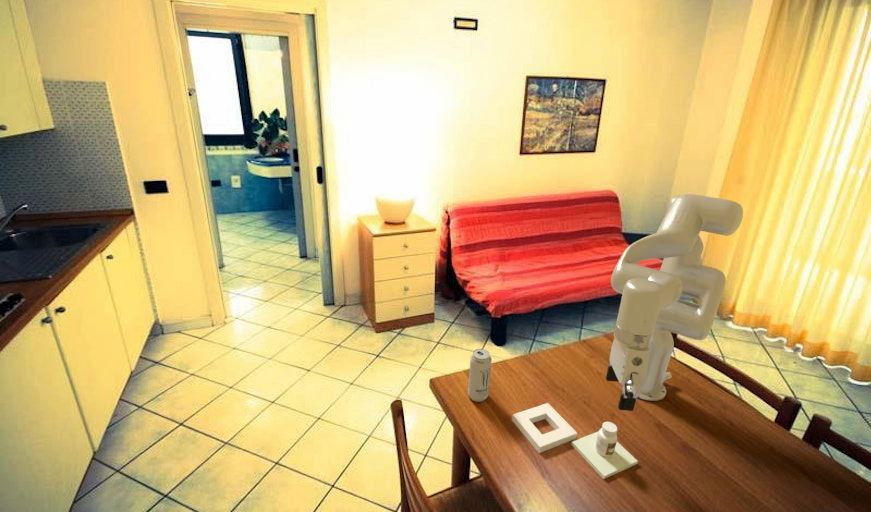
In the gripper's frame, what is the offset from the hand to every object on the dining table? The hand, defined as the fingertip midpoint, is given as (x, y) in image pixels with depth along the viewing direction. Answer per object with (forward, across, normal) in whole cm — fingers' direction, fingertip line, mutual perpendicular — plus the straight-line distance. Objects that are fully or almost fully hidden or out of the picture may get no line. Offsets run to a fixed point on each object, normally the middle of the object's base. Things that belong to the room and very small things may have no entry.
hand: (618, 394), depth 96 cm
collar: (+18, +5, +15) cm, 24 cm away
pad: (+18, -1, +1) cm, 18 cm away
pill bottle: (+18, -1, +1) cm, 18 cm away
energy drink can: (+18, +16, +32) cm, 41 cm away
